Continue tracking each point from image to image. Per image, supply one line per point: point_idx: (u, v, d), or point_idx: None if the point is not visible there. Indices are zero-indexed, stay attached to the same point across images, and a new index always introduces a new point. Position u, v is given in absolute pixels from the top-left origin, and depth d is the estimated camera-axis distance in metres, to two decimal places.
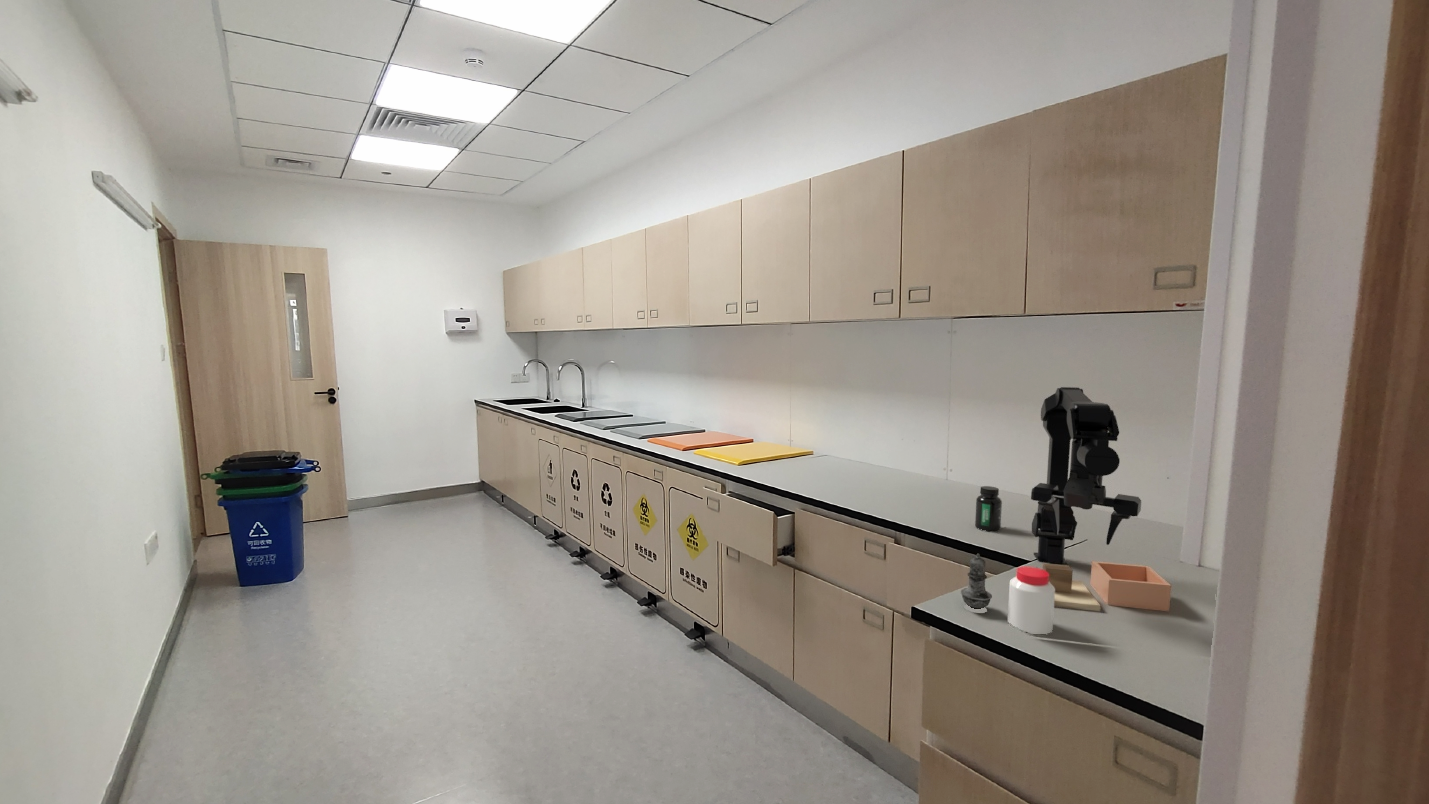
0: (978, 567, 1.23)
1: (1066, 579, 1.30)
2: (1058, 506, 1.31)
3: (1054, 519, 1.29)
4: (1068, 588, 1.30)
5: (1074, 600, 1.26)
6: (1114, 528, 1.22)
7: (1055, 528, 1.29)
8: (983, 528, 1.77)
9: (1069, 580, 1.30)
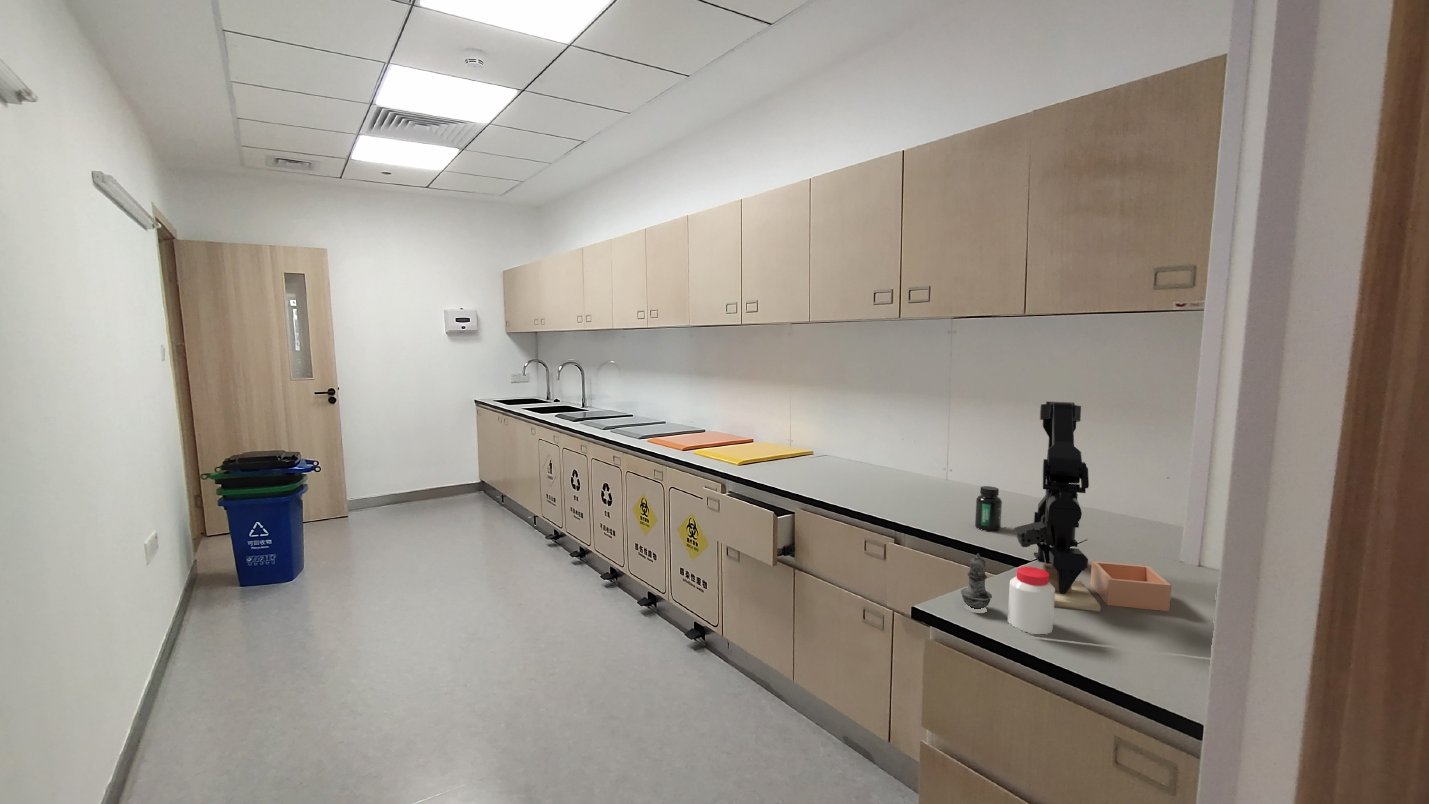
0: (978, 567, 1.23)
1: None
2: None
3: (1045, 560, 1.36)
4: None
5: (1074, 600, 1.26)
6: (1058, 577, 1.26)
7: None
8: (983, 528, 1.77)
9: None
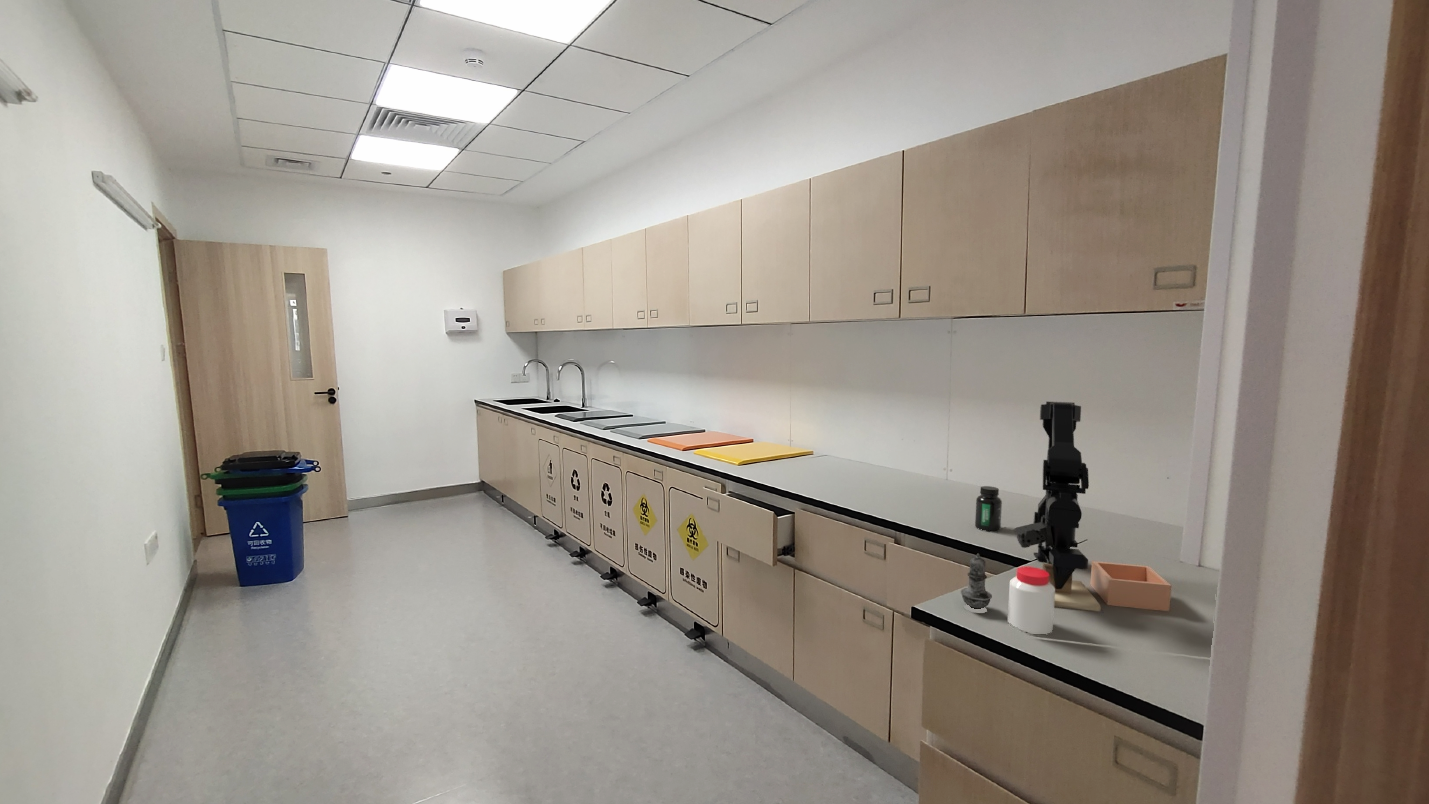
0: (978, 567, 1.23)
1: None
2: None
3: None
4: (1068, 588, 1.30)
5: (1074, 600, 1.26)
6: (1054, 572, 1.29)
7: None
8: (983, 528, 1.77)
9: (1069, 580, 1.30)
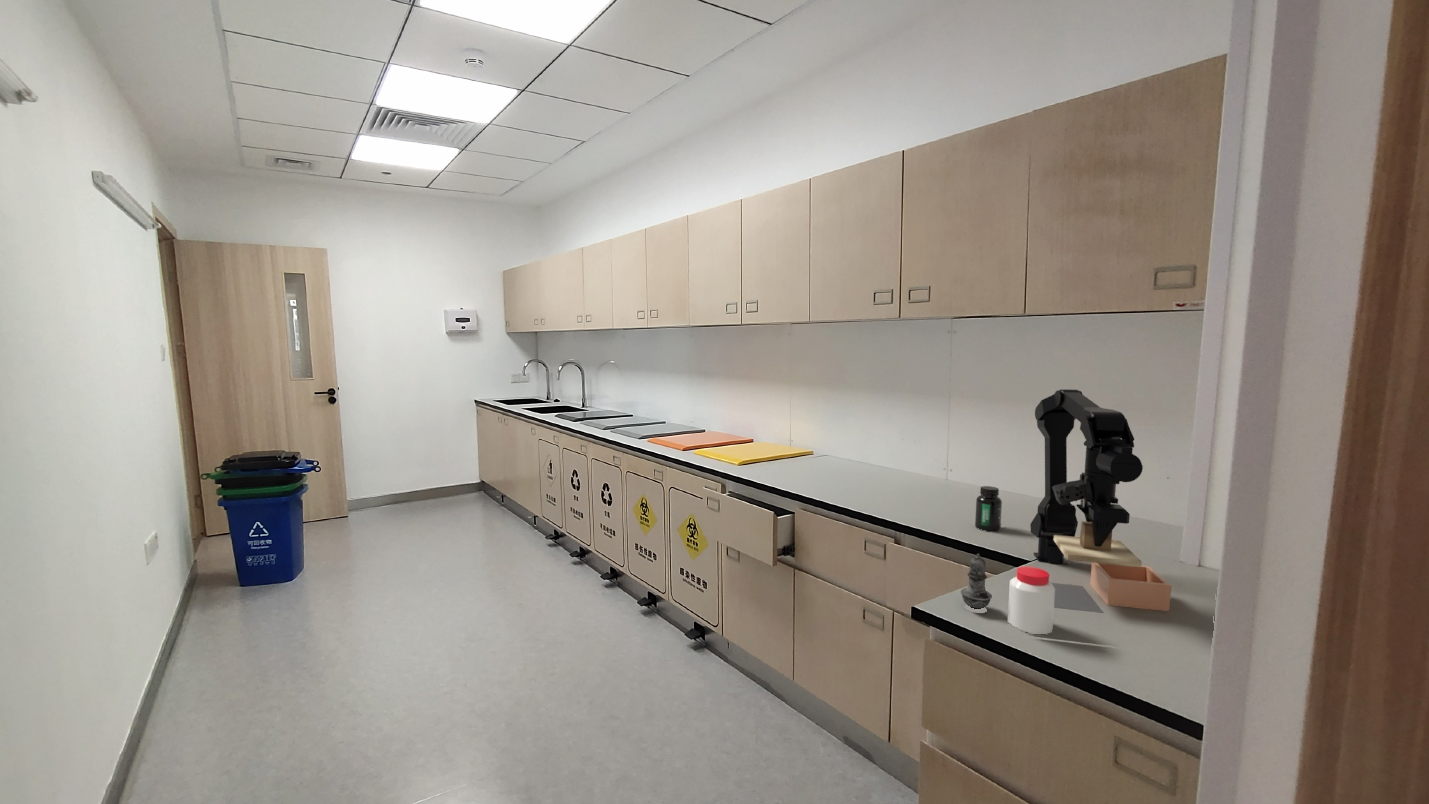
0: (978, 567, 1.23)
1: None
2: None
3: None
4: (1108, 545, 1.28)
5: (1115, 556, 1.25)
6: (1093, 529, 1.28)
7: None
8: (983, 528, 1.77)
9: (1109, 537, 1.28)
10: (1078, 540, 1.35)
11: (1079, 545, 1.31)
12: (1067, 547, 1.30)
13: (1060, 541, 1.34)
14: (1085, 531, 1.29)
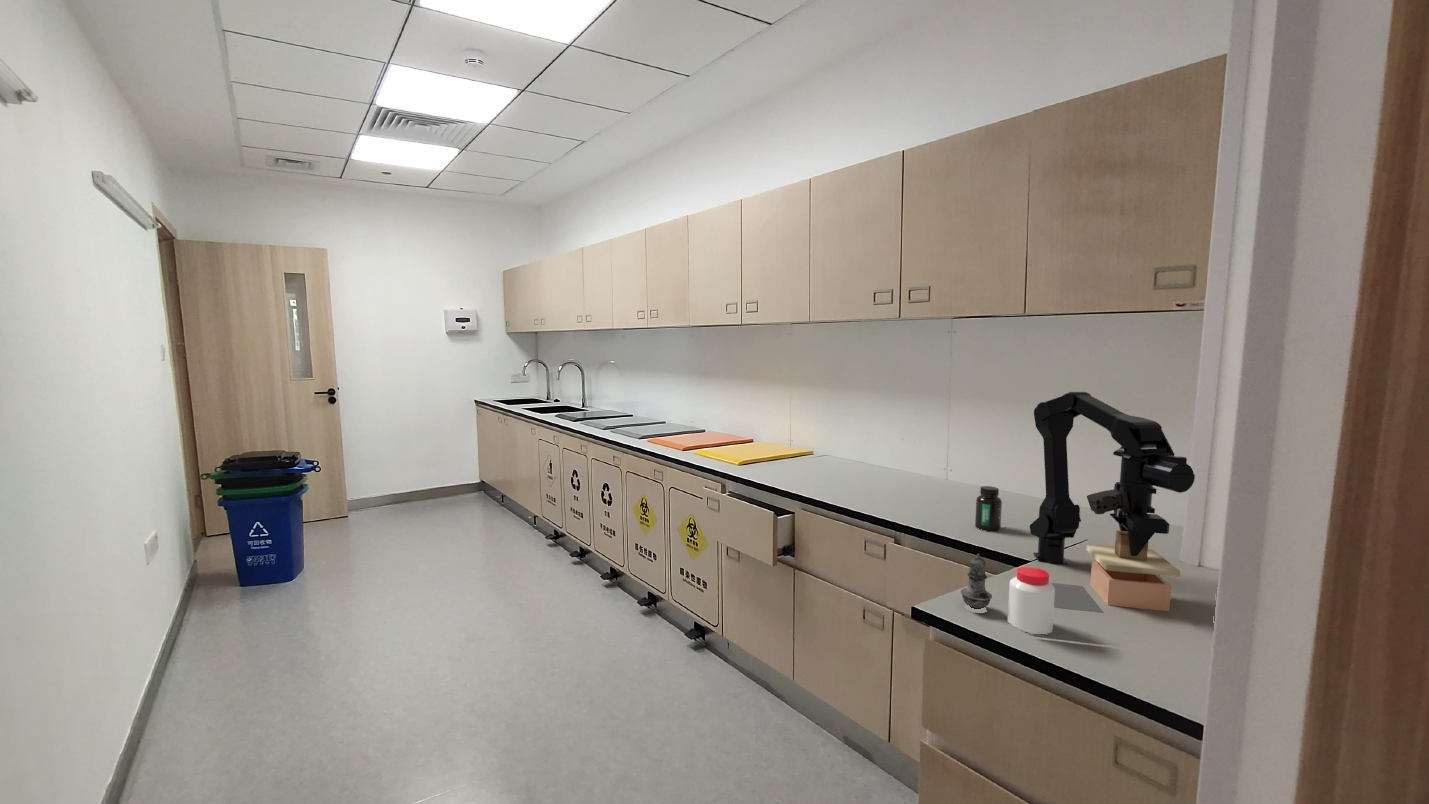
0: (978, 567, 1.23)
1: None
2: None
3: None
4: (1144, 555, 1.28)
5: (1152, 566, 1.25)
6: (1130, 539, 1.27)
7: None
8: (983, 528, 1.77)
9: (1145, 547, 1.28)
10: (1112, 549, 1.34)
11: (1114, 554, 1.31)
12: (1103, 557, 1.30)
13: (1094, 550, 1.34)
14: (1121, 541, 1.29)
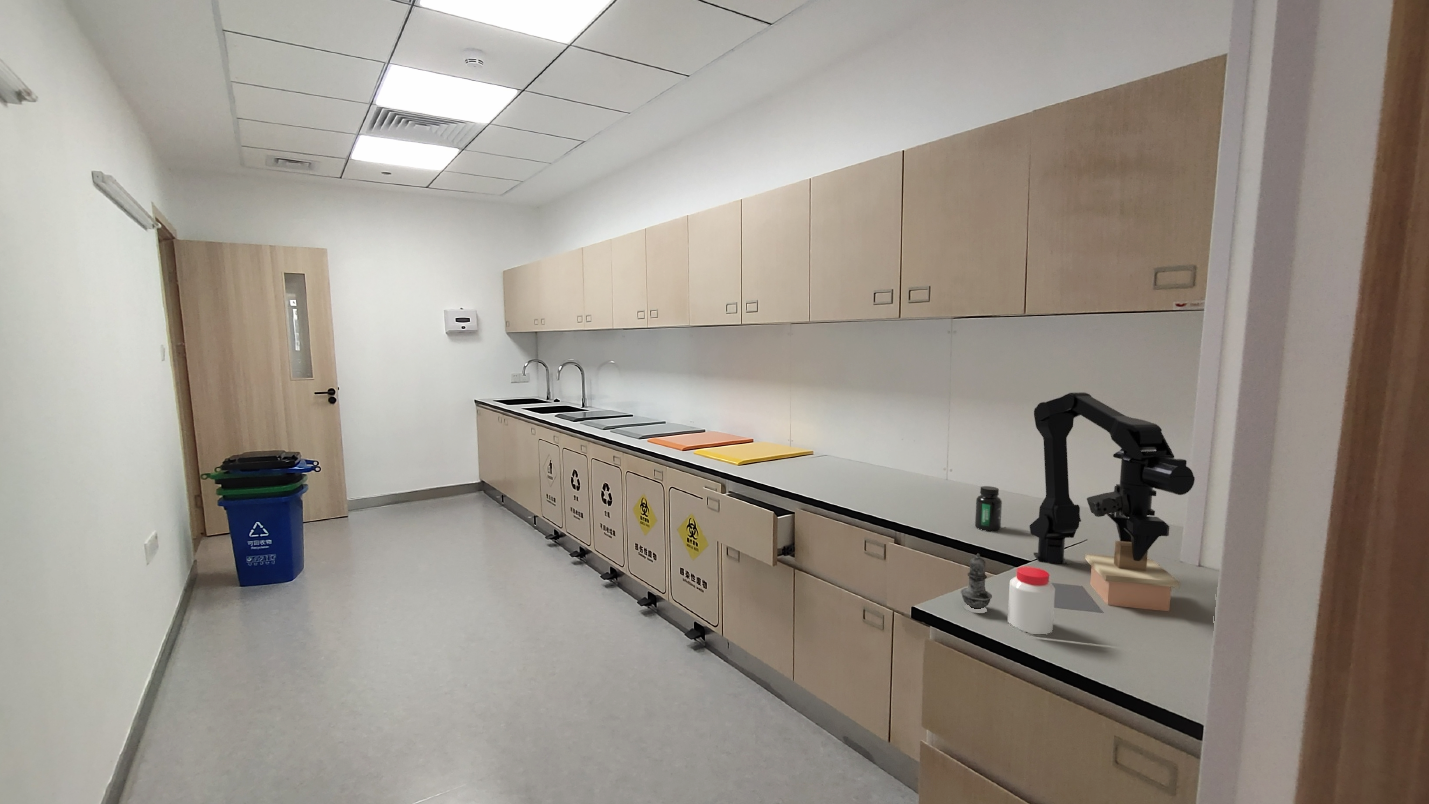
0: (978, 567, 1.23)
1: None
2: None
3: (1119, 533, 1.33)
4: (1143, 565, 1.28)
5: (1152, 577, 1.25)
6: (1133, 543, 1.26)
7: None
8: (983, 528, 1.77)
9: (1144, 557, 1.28)
10: (1111, 559, 1.35)
11: (1114, 565, 1.31)
12: (1102, 567, 1.30)
13: (1094, 560, 1.34)
14: (1120, 551, 1.29)
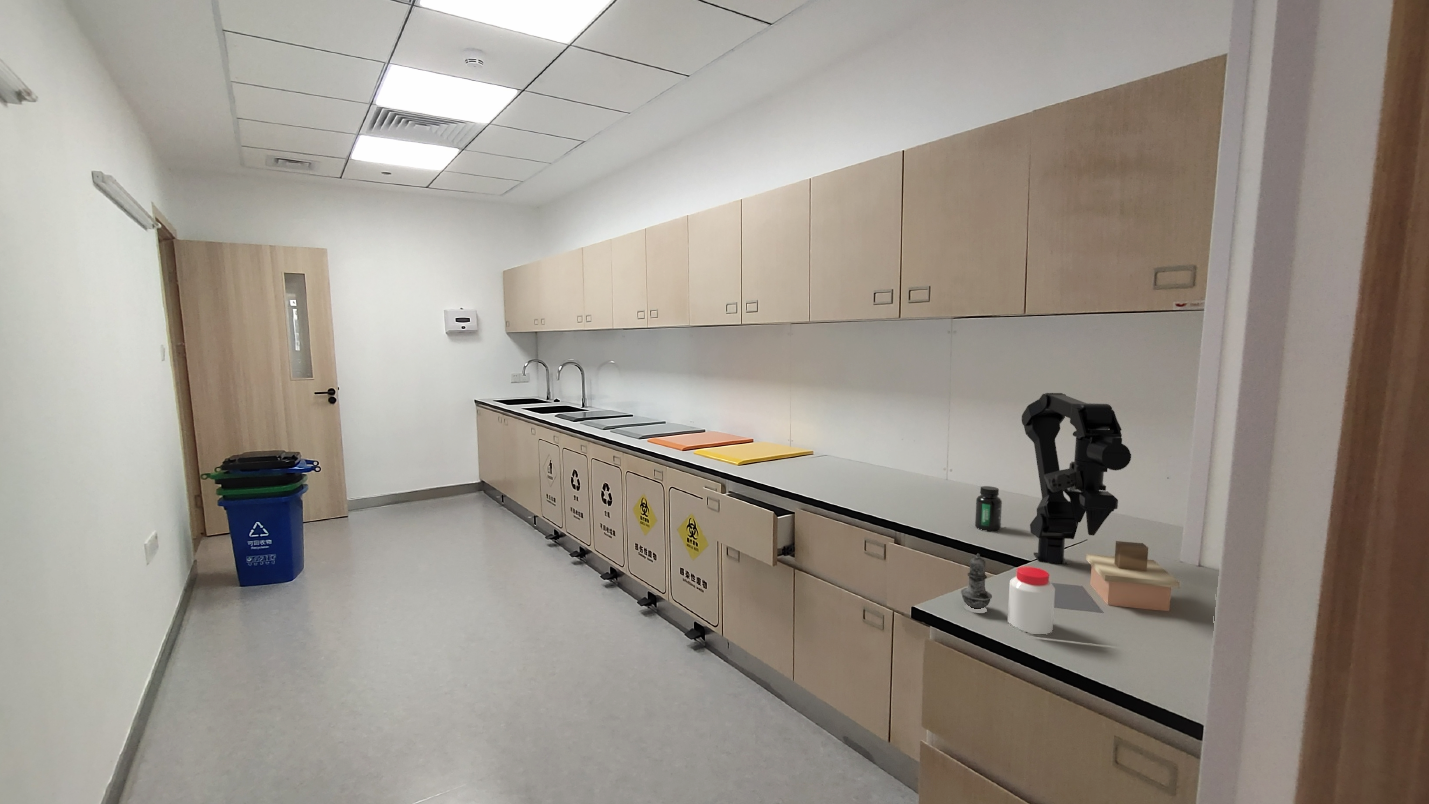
0: (978, 567, 1.23)
1: (1141, 557, 1.28)
2: None
3: (1072, 506, 1.42)
4: (1143, 566, 1.28)
5: (1152, 577, 1.25)
6: (1087, 518, 1.32)
7: (1073, 515, 1.42)
8: (983, 528, 1.77)
9: (1144, 557, 1.28)
10: (1112, 559, 1.35)
11: (1114, 565, 1.31)
12: (1102, 567, 1.30)
13: (1094, 561, 1.34)
14: (1121, 551, 1.29)
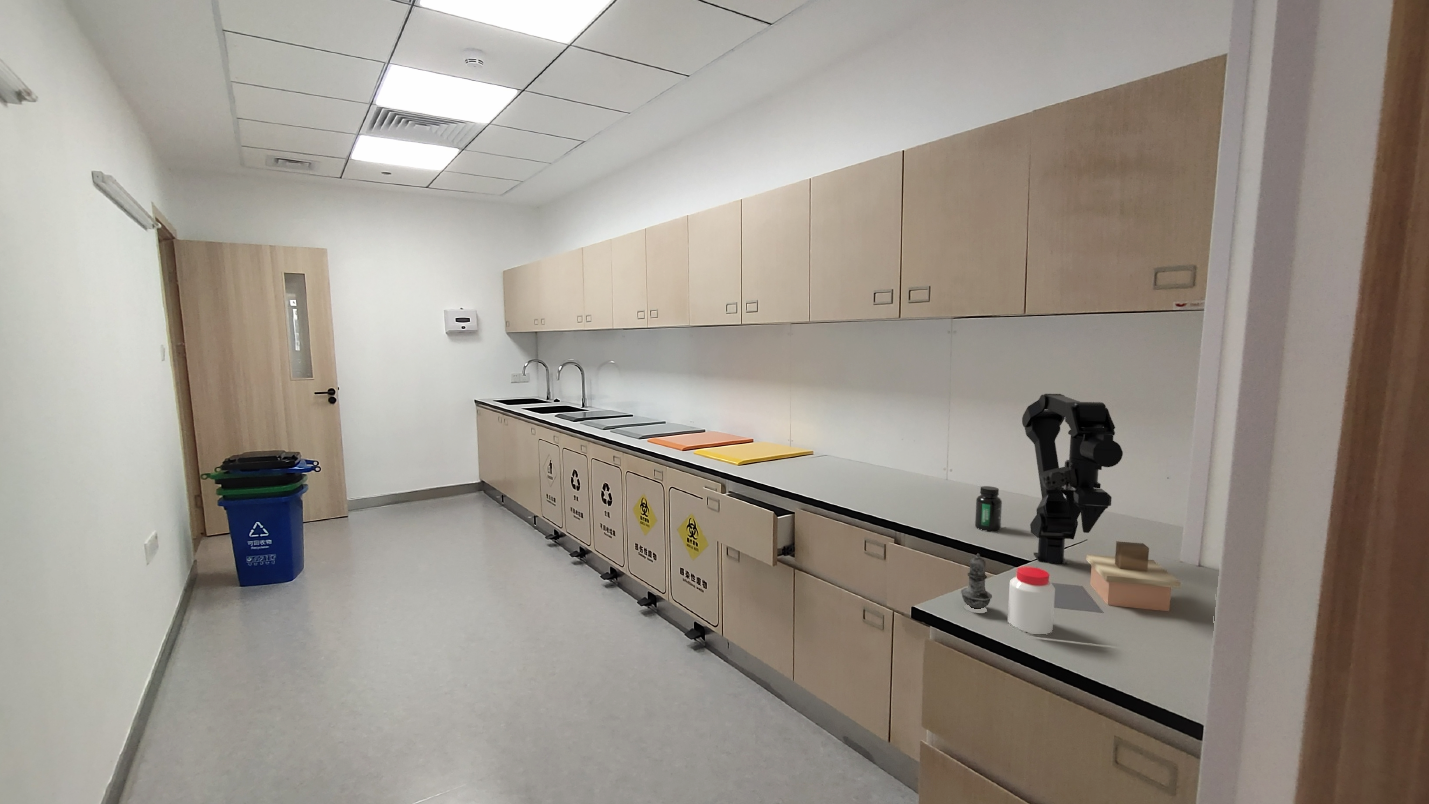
0: (978, 567, 1.23)
1: (1142, 557, 1.28)
2: None
3: (1068, 505, 1.43)
4: (1144, 566, 1.28)
5: (1153, 577, 1.25)
6: (1082, 516, 1.33)
7: (1070, 513, 1.43)
8: (983, 528, 1.77)
9: (1145, 558, 1.28)
10: (1112, 560, 1.34)
11: (1115, 565, 1.31)
12: (1103, 567, 1.30)
13: (1095, 561, 1.34)
14: (1121, 551, 1.29)
